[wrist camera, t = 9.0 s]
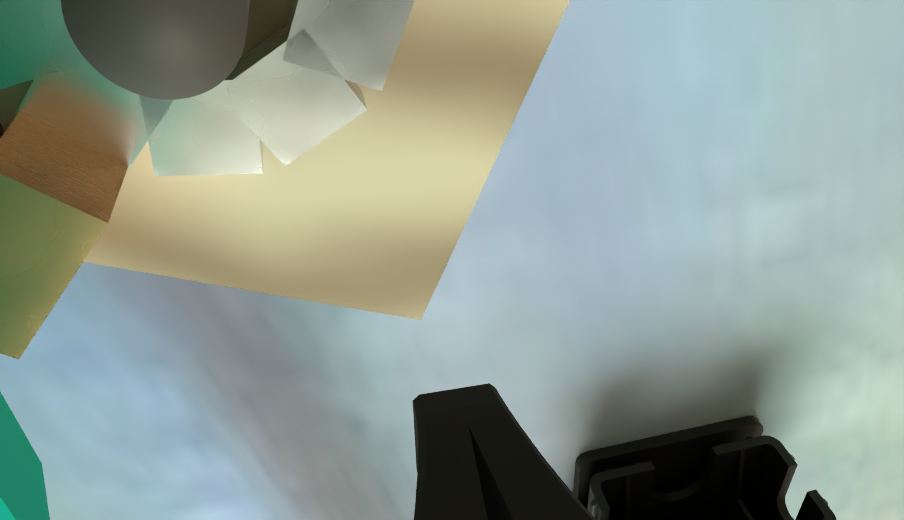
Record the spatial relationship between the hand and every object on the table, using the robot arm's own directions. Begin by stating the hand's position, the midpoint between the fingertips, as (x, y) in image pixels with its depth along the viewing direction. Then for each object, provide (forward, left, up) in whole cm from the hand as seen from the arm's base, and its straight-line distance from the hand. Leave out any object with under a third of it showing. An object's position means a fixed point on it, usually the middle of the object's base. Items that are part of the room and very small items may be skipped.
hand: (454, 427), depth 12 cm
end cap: (+13, +19, -11) cm, 25 cm away
